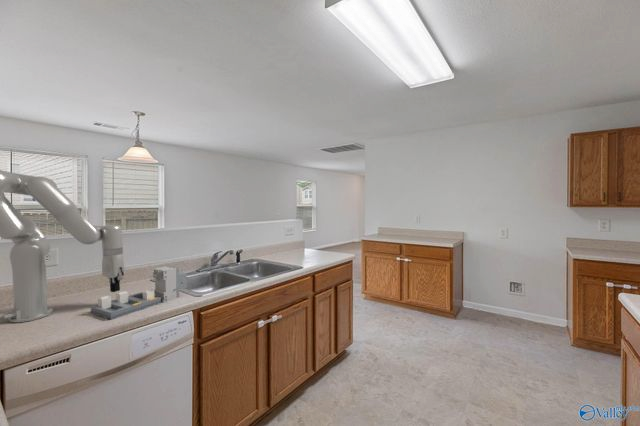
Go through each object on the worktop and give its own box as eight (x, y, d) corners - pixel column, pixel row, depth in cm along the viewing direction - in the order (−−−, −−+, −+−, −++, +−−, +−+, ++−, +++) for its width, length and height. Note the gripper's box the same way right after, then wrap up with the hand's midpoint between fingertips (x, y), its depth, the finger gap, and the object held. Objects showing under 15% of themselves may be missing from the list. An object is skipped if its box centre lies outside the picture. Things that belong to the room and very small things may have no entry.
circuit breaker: (189, 293, 145) (189, 264, 144) (164, 302, 132) (163, 270, 131) (179, 291, 148) (179, 263, 147) (153, 300, 135) (153, 269, 134)
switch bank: (111, 319, 112) (110, 312, 112) (91, 312, 119) (90, 306, 119) (160, 302, 131) (160, 296, 131) (141, 297, 138) (141, 291, 138)
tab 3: (147, 302, 127) (146, 291, 127) (142, 301, 129) (142, 290, 128) (154, 300, 130) (154, 289, 130) (150, 299, 132) (150, 288, 132)
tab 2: (120, 304, 125) (119, 293, 124) (116, 303, 126) (115, 292, 126) (128, 302, 128) (128, 291, 127) (124, 300, 129) (124, 290, 129)
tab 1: (102, 309, 118) (101, 298, 118) (98, 308, 120) (97, 297, 119) (111, 307, 121) (111, 295, 121) (107, 306, 123) (107, 294, 123)
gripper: (94, 252, 129) (97, 291, 130) (113, 254, 122) (115, 296, 123) (112, 249, 136) (114, 286, 137) (131, 251, 129) (133, 290, 130)
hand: (115, 291), depth 130 cm, fingers closed
